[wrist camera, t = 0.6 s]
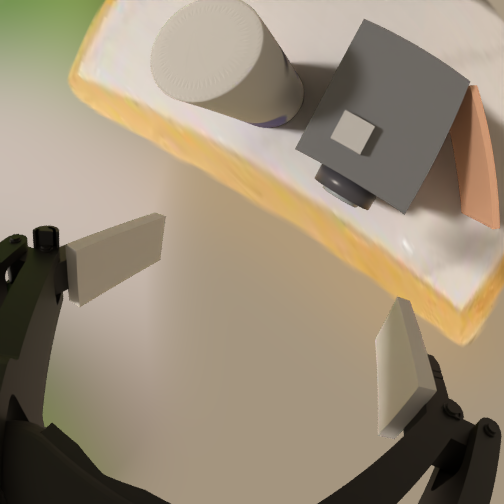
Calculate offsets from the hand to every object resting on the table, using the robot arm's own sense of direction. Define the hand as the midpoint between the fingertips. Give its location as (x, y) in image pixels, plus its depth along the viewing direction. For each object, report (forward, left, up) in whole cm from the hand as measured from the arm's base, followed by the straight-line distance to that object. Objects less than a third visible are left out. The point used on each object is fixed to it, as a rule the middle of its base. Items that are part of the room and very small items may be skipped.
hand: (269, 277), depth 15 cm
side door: (-17, +14, -25) cm, 33 cm away
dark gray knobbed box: (-12, +2, -26) cm, 29 cm away
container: (-11, -13, -27) cm, 32 cm away
